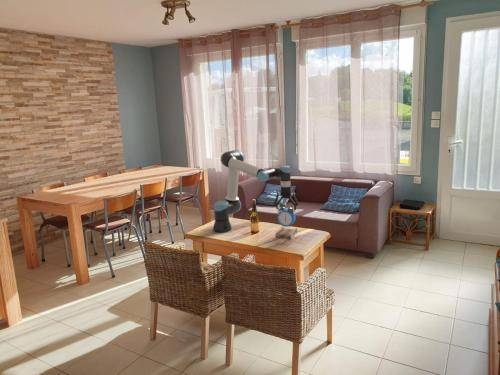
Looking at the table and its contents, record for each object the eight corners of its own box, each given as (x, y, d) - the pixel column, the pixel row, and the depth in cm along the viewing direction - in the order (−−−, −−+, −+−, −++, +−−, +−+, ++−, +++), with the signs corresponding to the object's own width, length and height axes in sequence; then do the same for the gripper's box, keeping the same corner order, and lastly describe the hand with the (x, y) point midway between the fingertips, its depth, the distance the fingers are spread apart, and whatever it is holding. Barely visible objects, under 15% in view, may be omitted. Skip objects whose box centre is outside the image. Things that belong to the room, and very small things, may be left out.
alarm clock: (277, 226, 314) (276, 207, 311) (280, 224, 319) (279, 205, 316) (293, 227, 308) (292, 208, 305) (296, 225, 313) (295, 206, 310)
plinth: (275, 237, 309) (275, 233, 309) (282, 230, 326) (282, 226, 325) (291, 239, 305) (291, 234, 304) (297, 232, 321) (297, 227, 321)
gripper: (269, 186, 308) (270, 214, 313) (299, 187, 300) (300, 216, 304) (272, 184, 315) (273, 211, 319) (302, 185, 307) (302, 213, 311)
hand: (286, 213), depth 312 cm, fingers closed on alarm clock, 11 cm apart
